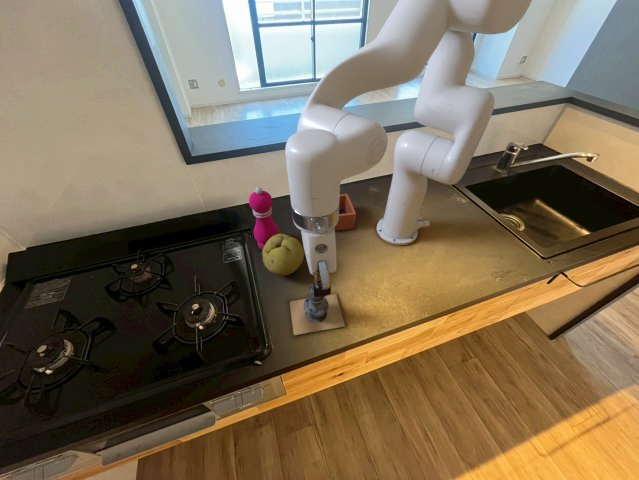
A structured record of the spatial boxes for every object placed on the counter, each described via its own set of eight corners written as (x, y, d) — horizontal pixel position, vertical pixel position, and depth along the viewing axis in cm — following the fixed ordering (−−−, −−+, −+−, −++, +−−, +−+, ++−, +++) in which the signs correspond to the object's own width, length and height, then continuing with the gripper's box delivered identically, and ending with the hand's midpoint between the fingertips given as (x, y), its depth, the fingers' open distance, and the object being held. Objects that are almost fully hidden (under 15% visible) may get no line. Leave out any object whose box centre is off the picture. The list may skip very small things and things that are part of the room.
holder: (346, 207, 96) (347, 193, 92) (354, 228, 89) (356, 213, 85) (315, 211, 95) (315, 197, 90) (321, 232, 87) (321, 218, 83)
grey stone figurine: (325, 326, 65) (326, 297, 56) (301, 321, 66) (298, 292, 57) (330, 304, 69) (331, 275, 60) (307, 300, 70) (305, 270, 61)
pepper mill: (285, 240, 85) (278, 185, 71) (270, 255, 81) (259, 200, 66) (267, 232, 88) (257, 177, 73) (251, 246, 83) (237, 190, 69)
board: (336, 294, 71) (336, 293, 71) (345, 326, 65) (345, 326, 65) (289, 302, 70) (289, 301, 69) (293, 335, 64) (293, 335, 63)
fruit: (302, 249, 82) (301, 224, 75) (307, 281, 74) (305, 256, 67) (264, 253, 81) (259, 228, 74) (265, 286, 73) (259, 261, 66)
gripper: (352, 246, 39) (346, 308, 52) (327, 177, 51) (327, 241, 63) (299, 254, 38) (306, 315, 51) (286, 182, 50) (294, 246, 62)
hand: (317, 274), depth 57 cm, fingers open, 9 cm apart
